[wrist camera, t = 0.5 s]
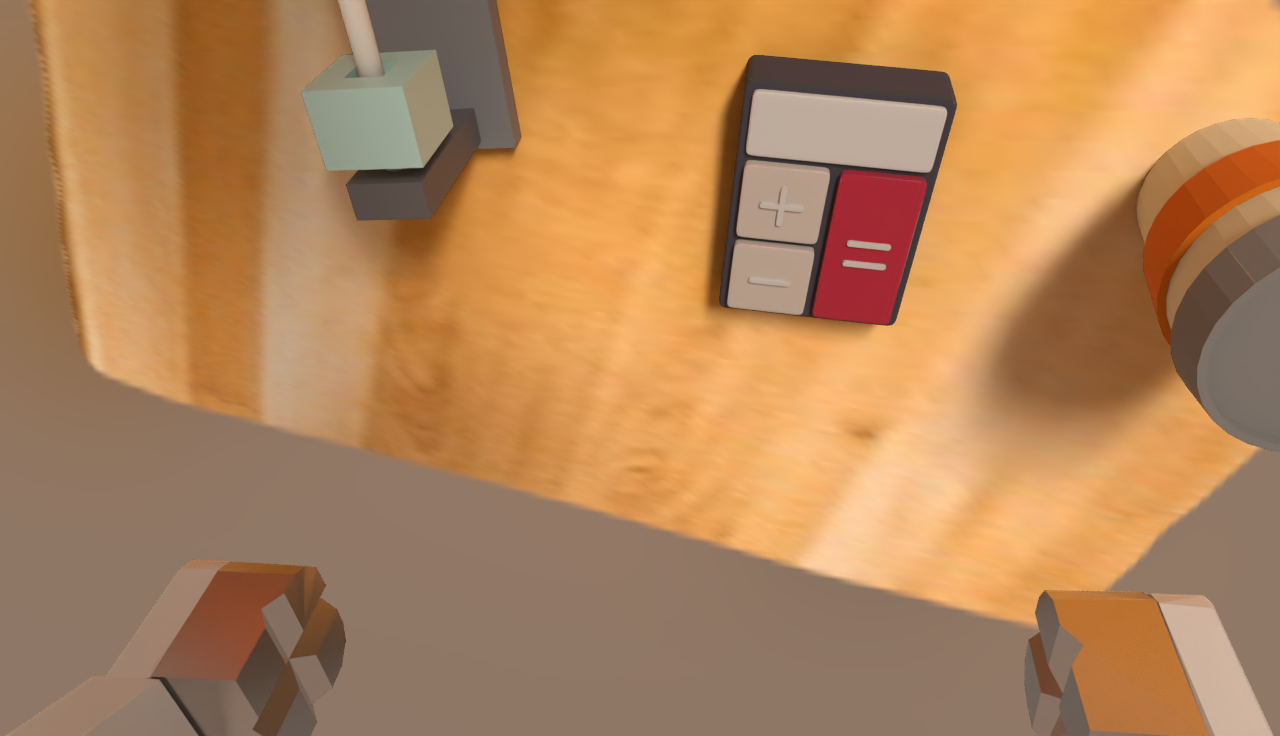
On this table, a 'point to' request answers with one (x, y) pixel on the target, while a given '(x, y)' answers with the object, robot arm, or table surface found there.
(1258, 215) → the reusable coffee cup
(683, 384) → the table surface
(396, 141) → the sleeve
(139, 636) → the robot arm
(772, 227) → the calculator
